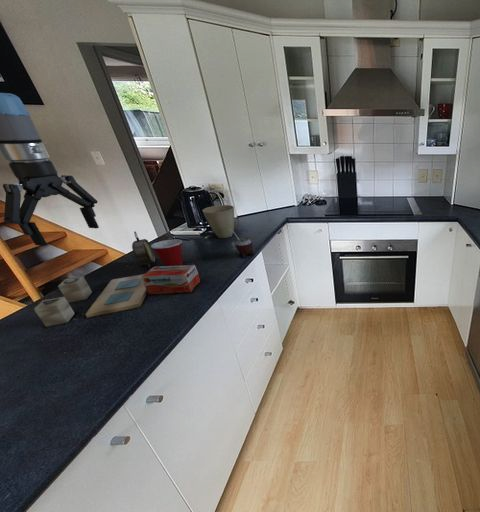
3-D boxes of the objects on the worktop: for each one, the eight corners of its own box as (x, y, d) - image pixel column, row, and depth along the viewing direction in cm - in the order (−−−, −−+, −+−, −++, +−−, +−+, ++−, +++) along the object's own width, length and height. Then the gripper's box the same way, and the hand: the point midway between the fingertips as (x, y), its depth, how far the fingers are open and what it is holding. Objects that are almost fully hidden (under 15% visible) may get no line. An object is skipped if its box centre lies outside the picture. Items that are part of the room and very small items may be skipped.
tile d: (45, 326, 85) (33, 308, 82) (54, 317, 89) (42, 299, 86) (67, 322, 87) (56, 304, 84) (74, 313, 91) (64, 296, 88)
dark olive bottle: (154, 268, 119) (140, 234, 112) (139, 271, 117) (123, 237, 109) (157, 259, 127) (144, 226, 120) (142, 261, 125) (128, 228, 118)
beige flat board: (87, 317, 90) (84, 313, 89) (113, 282, 109) (111, 279, 108) (140, 306, 95) (138, 303, 94) (156, 275, 114) (154, 271, 114)
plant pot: (245, 232, 158) (239, 206, 151) (225, 242, 146) (217, 213, 139) (225, 229, 162) (218, 203, 155) (203, 238, 150) (195, 210, 143)
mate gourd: (256, 252, 136) (250, 223, 129) (249, 259, 129) (242, 229, 122) (242, 251, 136) (235, 223, 129) (233, 258, 129) (226, 229, 122)
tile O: (67, 302, 97) (57, 285, 93) (74, 295, 101) (64, 278, 97) (86, 299, 99) (76, 282, 95) (92, 292, 103) (83, 275, 99)
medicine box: (201, 281, 111) (195, 264, 107) (191, 292, 103) (185, 274, 100) (160, 283, 109) (153, 266, 105) (147, 295, 101) (139, 276, 98)
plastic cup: (193, 260, 127) (185, 236, 121) (184, 271, 117) (175, 246, 112) (166, 262, 124) (157, 238, 119) (155, 274, 115) (144, 248, 110)
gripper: (-28, 168, 60) (26, 254, 69) (93, 155, 82) (121, 222, 91) (-57, 167, 60) (1, 252, 70) (71, 155, 83) (101, 221, 92)
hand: (69, 235), depth 81 cm, fingers open, 13 cm apart
